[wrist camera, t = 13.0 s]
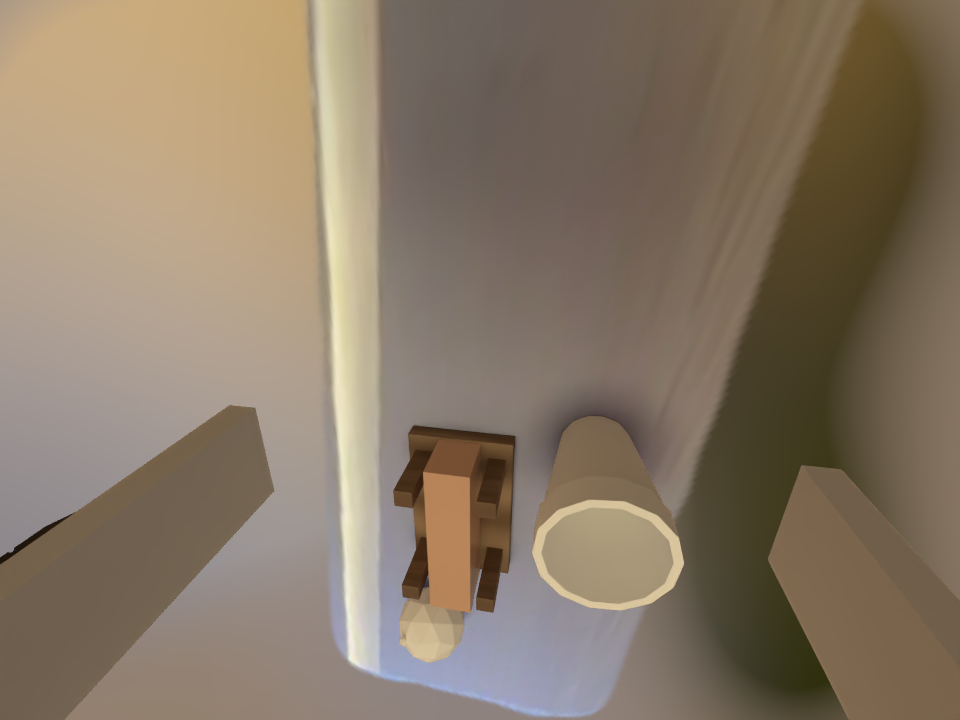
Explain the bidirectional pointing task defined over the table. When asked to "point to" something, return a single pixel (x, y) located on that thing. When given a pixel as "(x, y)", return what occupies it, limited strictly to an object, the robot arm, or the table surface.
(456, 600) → the clay bar
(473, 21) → the table surface
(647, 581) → the foam cup
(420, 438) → the rack
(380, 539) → the table surface
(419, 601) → the cream rounded egg shape
